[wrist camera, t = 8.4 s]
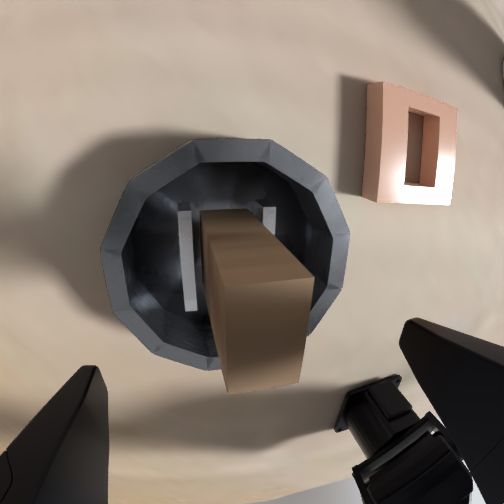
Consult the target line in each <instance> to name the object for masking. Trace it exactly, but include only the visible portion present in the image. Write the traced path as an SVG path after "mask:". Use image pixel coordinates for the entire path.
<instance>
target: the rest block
mask: <svg viewBox="0 0 504 504" xmlns="http://www.w3.org/2000/svg"><path fill="white" fill-rule="evenodd" d="M408 112H412V113H415V114H418V115H422V116H423V141H422V156H421V168H420V179H419V183H410V182H404V179H405V169H406V156H407V140H408ZM456 137H457V108H456V107H454V106H452V105H449V104H447V103H444V102H442V101H439V100H437V99H434V98H431V97H429V96H426V95H423V94H420V93H418V92H415V91H412V90H409V89H406V88H403V87H400V86H396V85H393V84H390V83H386V82H377V83H371V84H367V117H366V143H365V160H364V174H363V186H362V196H361V197H364V198H366V199H369V200H371V201H374V202H376V203H413V204H438V205H450V200H451V193H452V185H453V176H454V166H455V154H456Z"/></svg>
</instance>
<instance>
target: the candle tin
mask: <svg viewBox="0 0 504 504" xmlns="http://www.w3.org/2000/svg"><path fill="white" fill-rule="evenodd" d="M243 208H247V209H248V210H249V211H250V212H251V213H252V214H253V215H254V216H255V217H256V218H257V219H258V220H259V221H260V222H261V223H262V224H263V225H264V226H265V227H266V228H267V229H268V230H269V231H270V232H271V233H272V234H273V235H274V236H275V237H276V238H277V239H278V240H279V241H280V242H281V243H282V244H283V245H284V246H285V247H286V248H287V249H288V250H289V251H290V252H291V253H292V254H293V255H294V256H295V257H296V259H297V260H298V261H299V262H300V263H301V264H302V265H303V266H304V267H305V268H306V269H307V270H308V271H309V272H310V273H311V274H312V275H313V276H314V277H315V278H314V286H313V294H312V301H311V309H310V316H309V323H308V329H307V336H309V334H311V333H312V331H313V330H314V329H315V327H316V326H317V324H318V323H319V322H320V320H321V319H322V317H323V316H324V315H325V313H326V312H327V310H328V309H329V307H330V306H331V304H332V303H333V302H334V300H335V299H336V297H337V296H338V294H339V293H340V291H341V290H342V289H341V288H342V287H343V280H344V274H345V268H346V261H347V254H348V247H349V239H350V233H349V232H350V231H349V228H348V226H347V223H346V221H345V218H344V216H343V213H342V211H341V208H340V206H339V203H338V201H337V199H336V196H335V194H334V192H333V189H332V187H331V185H330V182H329V180H328V178H326V176H325V175H324V174H322V173H321V172H319V171H318V170H316V169H315V168H313V167H312V166H311V165H309V164H308V163H306V162H305V161H303V160H302V159H300V158H299V157H297V156H296V155H294V154H293V153H291V152H290V151H288V150H287V149H285V148H284V147H282V146H280V145H279V144H277V143H276V142H274V141H273V140H270V139H194V140H189V141H188V142H186V143H184V144H183V145H181V146H180V147H178V148H176V149H175V150H173V151H172V152H170V153H168V154H167V155H165V156H164V157H162V158H161V159H159V160H158V161H156V162H155V163H153V164H152V165H150V166H149V167H147V168H146V169H144V170H143V171H141V172H140V173H139V174H138V175H136V176H135V177H134V178H133V179H132V180H131V181H130V182H129V183H128V184H127V186H126V188H125V190H124V193H123V195H122V197H121V199H120V201H119V204H118V206H117V208H116V210H115V213H114V215H113V217H112V220H111V222H110V225H109V227H108V230H107V232H106V235H105V237H104V240H103V242H102V245H101V247H100V253H101V259H102V265H103V270H104V275H105V281H106V285H107V290H108V295H109V299H110V304H111V308H112V311H113V313H114V314H115V315H116V316H117V317H118V318H119V319H120V321H121V322H122V323H123V324H124V325H125V326H126V327H127V328H128V329H129V330H130V331H131V332H132V333H133V334H134V335H135V336H136V337H137V338H138V340H139V341H140V342H141V343H142V344H143V345H144V346H145V347H146V348H147V349H148V350H149V351H150V352H151V353H153V354H155V355H158V356H161V357H164V358H167V359H170V360H173V361H176V362H179V363H182V364H185V365H189V366H192V367H195V368H199V369H202V370H207V371H209V370H218V369H221V365H220V360H219V356H218V352H217V348H216V344H215V339H214V335H213V330H212V326H211V322H210V317H209V312H208V308H207V303H206V298H205V294H204V289H203V284H202V266H201V243H200V211H199V210H219V209H243ZM307 336H306V337H307Z"/></svg>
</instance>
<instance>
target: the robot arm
mask: <svg viewBox="0 0 504 504" xmlns="http://www.w3.org/2000/svg"><path fill="white" fill-rule="evenodd" d="M399 346H400V349H401V350H402V352H403V354H404V356H405V358H406V360H407V362H408V364H409V366H410V368H411V370H412V372H413V374H414V376H415V377H416V379H417V381H418V383H419V385H420V386H421V388H422V390H423V391H424V393H425V394H426V396H427V398H428V399H429V401H430V403H431V404H432V406H433V407H434V409H435V411H436V412H437V414H438V416H439V417H440V419H441V421H442V422H443V424H444V426H445V427H444V426H443V425H442V424H441V423H440V421H439V420H438V419H437V418H436V417H435V416H434V415H433V414H432V413H431V412H430V411H429V412H427V413H426V414H425V416H424V417H423V418H422V419H420V418H419V417H418V416H417V414H416V413H415V412H414V411H413V409H412V405H411V404H410V403H409V402H408V400H407V399H406V398H405V397H404V396H403V394H402V393H401V392H400V391H399V390H398V386H399V384H400V382H401V380H402V377H401V376H400V375H396V376H394V377H391V378H388V379H385V380H383V381H380V382H377V383H374V384H371V385H368V386H365V387H362V388H359V389H356V390H353V391H350V392H349V393H348V394H347V395H346V397H345V400H344V403H343V406H342V408H341V411H340V414H339V417H338V419H337V422H336V425H335V427H334V430H335V432H336V433H338V432H341V431H344V430H347V429H349V430H350V431H351V433H352V435H353V436H354V438H355V440H356V441H357V443H358V445H359V446H360V448H361V449H362V451H363V453H364V454H365V456H366V458H367V460H365V461H364V462H362V463H360V464H359V465H356V466H354V467H352V470H353V473H352V475H353V477H354V479H355V481H356V483H357V486H358V488H359V490H360V493H361V497H362V501H363V504H471V496H472V491H473V480H472V477H473V479H474V481H475V483H476V484H477V486H478V488H479V490H480V492H481V494H482V497H483V498H484V500H485V503H486V504H504V347H503V346H500V345H497V344H494V343H491V342H488V341H485V340H482V339H479V338H476V337H473V336H470V335H467V334H464V333H461V332H459V331H456V330H453V329H450V328H447V327H444V326H441V325H438V324H435V323H432V322H429V321H426V320H424V319H421V318H412V319H409V320H407V321H406V322H405V324H404V327H403V331H402V334H401V337H400V340H399ZM433 430H434V432H435V433H434V434H431V432H432V431H433ZM462 460H464V461H465V463H466V465H467V467H468V469H469V470H468V469H467V468H466V466H465V465H464V464H463V462H462ZM108 464H109V424H108V391H107V387H106V385H105V382H104V380H103V377H102V375H101V372H100V370H99V368H98V367H97V366H95V365H84V366H82V367H80V368H79V369H78V370H77V372H76V373H75V374H74V375H73V376H72V377H71V378H70V379H69V380H68V381H67V382H66V383H65V384H64V385H63V386H62V387H61V388H60V390H59V391H58V392H57V393H56V394H55V395H54V396H53V397H52V398H51V399H50V400H49V401H48V402H47V404H46V405H45V406H44V407H43V408H42V409H41V410H40V411H39V412H38V413H37V415H36V416H35V417H34V418H33V419H32V420H31V421H30V422H29V423H28V425H27V426H26V427H25V428H24V429H23V430H22V431H21V432H20V434H19V435H18V436H17V437H16V438H15V439H14V440H13V442H12V443H11V444H10V445H9V446H8V447H7V449H6V451H4V452H3V453H2V454H1V455H0V504H108ZM469 471H470V472H469Z"/></svg>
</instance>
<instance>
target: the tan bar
mask: <svg viewBox="0 0 504 504" xmlns="http://www.w3.org/2000/svg"><path fill="white" fill-rule="evenodd" d="M199 211H200V243H201V266H202V284H203V289H204V294H205V298H206V303H207V308H208V312H209V317H210V322H211V326H212V330H213V335H214V339H215V344H216V348H217V352H218V356H219V360H220V365H221V369H222V373H223V377H224V381H225V385H226V389H227V392H228V395H231V394H238V393H245V392H251V391H257V390H263V389H269V388H275V387H280V386H285V385H290V384H295V383H299V378H300V372H301V367H302V361H303V355H304V349H305V342H306V336H307V329H308V323H309V316H310V309H311V301H312V294H313V286H314V278H315V277H314V276H313V275H312V274H311V273H310V272H309V271H308V270H307V269H306V268H305V267H304V266H303V265H302V264H301V263H300V262H299V261H298V260H297V259H296V257H295V256H294V255H293V254H292V253H291V252H290V251H289V250H288V249H287V248H286V247H285V246H284V245H283V244H282V243H281V242H280V241H279V240H278V239H277V238H276V237H275V236H274V235H273V234H272V233H271V232H270V231H269V230H268V229H267V228H266V227H265V226H264V225H263V224H262V223H261V222H260V221H259V220H258V219H257V218H256V217H255V216H254V215H253V214H252V213H251V212H250V211H249V210H248V209H247V208H243V209H219V210H199Z"/></svg>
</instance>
